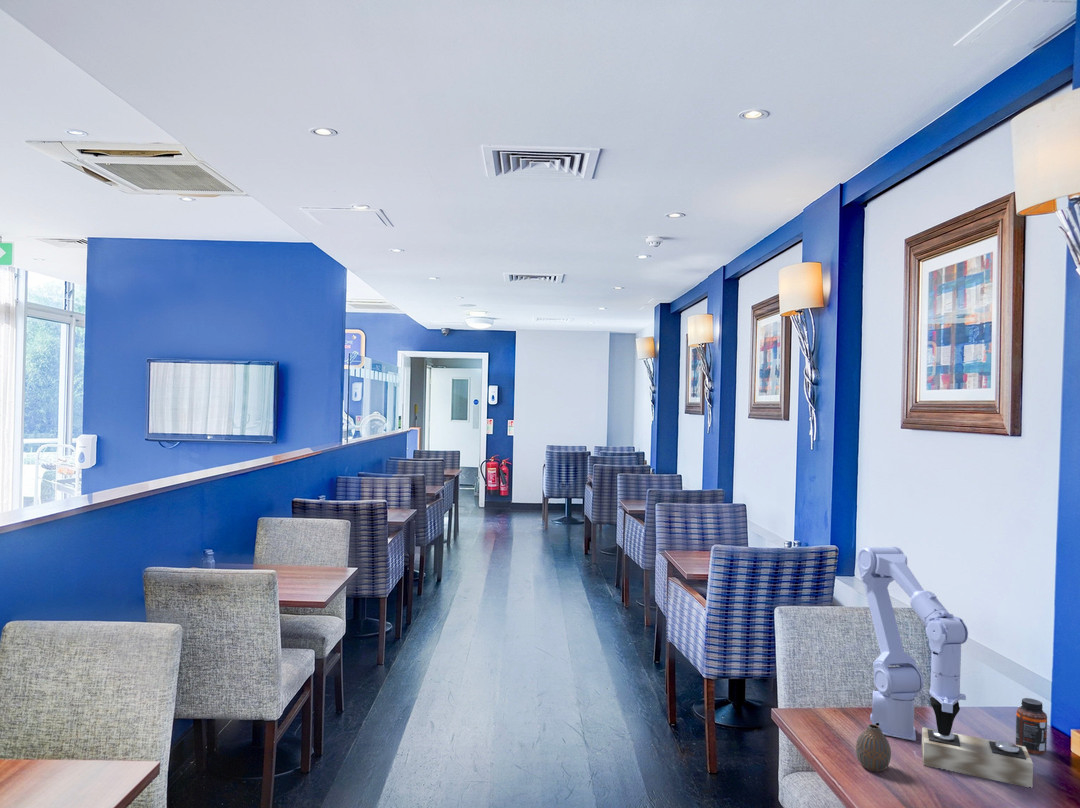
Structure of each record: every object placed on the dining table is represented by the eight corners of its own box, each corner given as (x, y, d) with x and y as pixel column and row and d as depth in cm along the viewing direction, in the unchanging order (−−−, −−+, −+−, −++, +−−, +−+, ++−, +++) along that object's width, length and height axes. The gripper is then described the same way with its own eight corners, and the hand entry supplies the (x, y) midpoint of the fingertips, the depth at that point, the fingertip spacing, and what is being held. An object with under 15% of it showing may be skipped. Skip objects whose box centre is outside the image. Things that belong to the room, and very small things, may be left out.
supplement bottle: (1051, 757, 167) (1052, 707, 167) (1022, 754, 168) (1023, 704, 168) (1039, 746, 173) (1040, 697, 173) (1010, 742, 174) (1012, 694, 174)
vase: (888, 763, 161) (889, 723, 161) (892, 777, 155) (893, 735, 155) (854, 757, 164) (855, 717, 164) (856, 771, 157) (858, 729, 157)
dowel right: (996, 769, 157) (997, 747, 157) (993, 761, 161) (994, 739, 161) (1019, 774, 155) (1020, 751, 155) (1016, 766, 159) (1017, 743, 159)
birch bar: (923, 765, 161) (924, 740, 161) (921, 748, 169) (922, 725, 169) (1032, 788, 152) (1033, 762, 152) (1024, 769, 161) (1025, 745, 161)
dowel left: (932, 756, 162) (933, 735, 162) (931, 749, 166) (932, 727, 166) (954, 761, 160) (955, 739, 161) (953, 753, 164) (953, 731, 164)
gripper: (969, 686, 155) (968, 751, 155) (963, 666, 168) (961, 725, 168) (931, 679, 158) (930, 743, 158) (928, 660, 171) (926, 719, 171)
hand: (943, 734), depth 163 cm, fingers closed, pressing on dowel left
